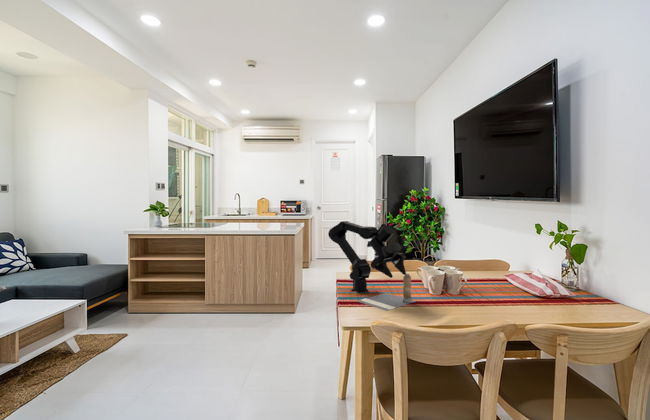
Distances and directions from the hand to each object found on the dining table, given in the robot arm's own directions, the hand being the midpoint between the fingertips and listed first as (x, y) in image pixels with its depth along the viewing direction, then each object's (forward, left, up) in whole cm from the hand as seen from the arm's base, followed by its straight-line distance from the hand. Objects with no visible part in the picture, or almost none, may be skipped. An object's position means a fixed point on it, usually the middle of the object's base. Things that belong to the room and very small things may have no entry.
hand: (398, 275), depth 147 cm
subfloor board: (-2, -6, -12) cm, 13 cm away
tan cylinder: (+5, 0, -10) cm, 11 cm away
